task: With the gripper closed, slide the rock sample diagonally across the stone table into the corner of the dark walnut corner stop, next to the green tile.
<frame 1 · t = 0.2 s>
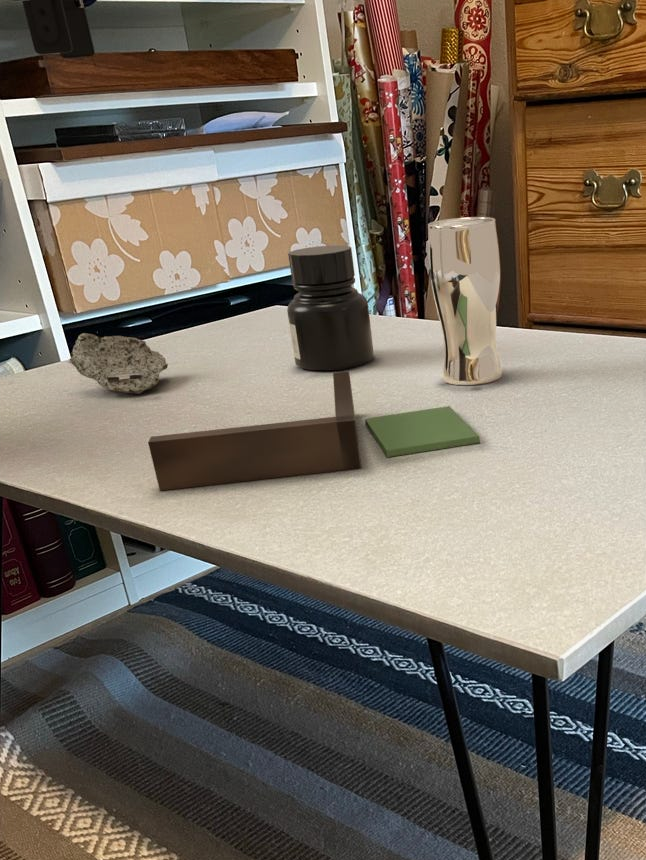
hand: (67, 55, 92), 31 cm above the table, tool pointing down, fingers open, 9 cm apart
beer glass: (472, 379, 102), on the table
ink bottle: (335, 364, 112), on the table
corner stop: (342, 464, 80), on the table
rock sample: (135, 389, 108), on the table
green tile: (420, 433, 86), on the table
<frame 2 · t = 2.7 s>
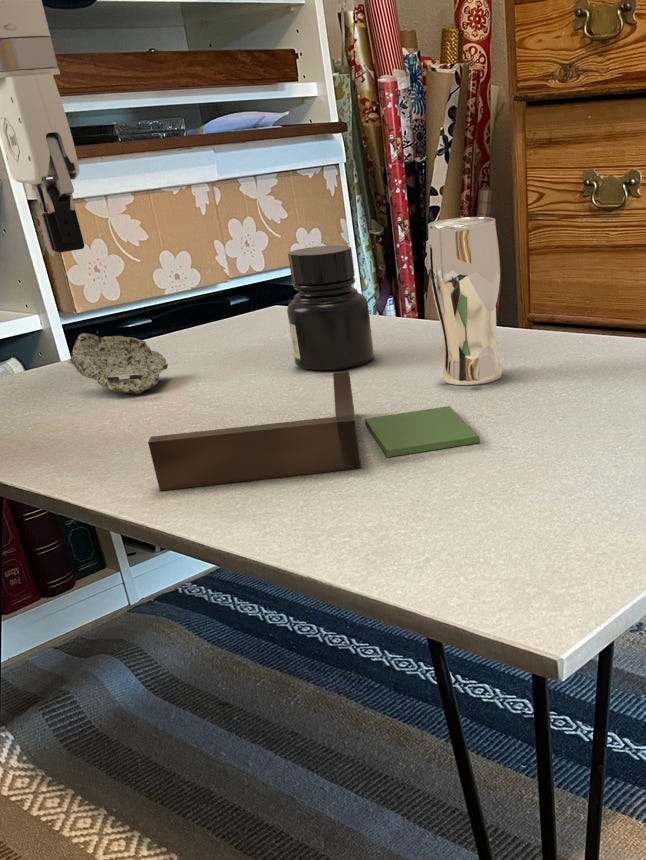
hand: (68, 249, 110), 13 cm above the table, tool pointing down, fingers closed
nothing on the table moved.
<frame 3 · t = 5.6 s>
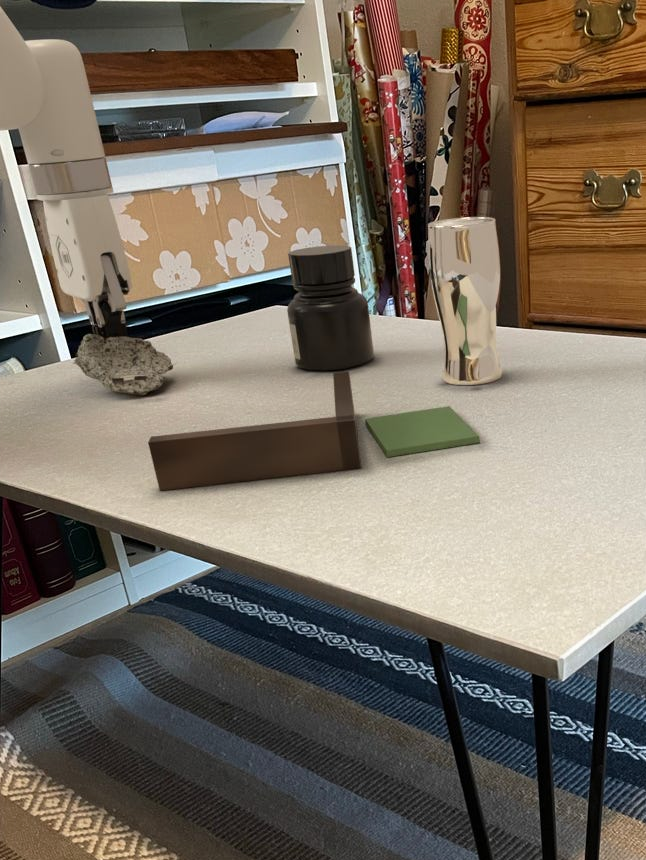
hand: (117, 360, 110), 2 cm above the table, tool pointing down, fingers closed
rock sample: (140, 390, 107), on the table, touching gripper
everything else where it was.
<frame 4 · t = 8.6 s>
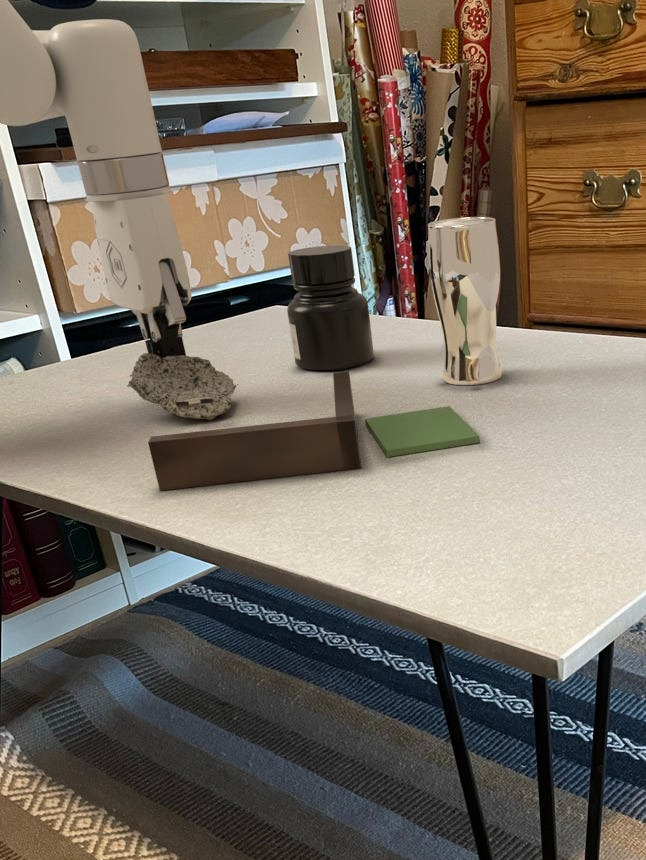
hand: (172, 377, 99), 3 cm above the table, tool pointing down, fingers closed
rock sample: (202, 414, 97), on the table, touching gripper
everything else where it was.
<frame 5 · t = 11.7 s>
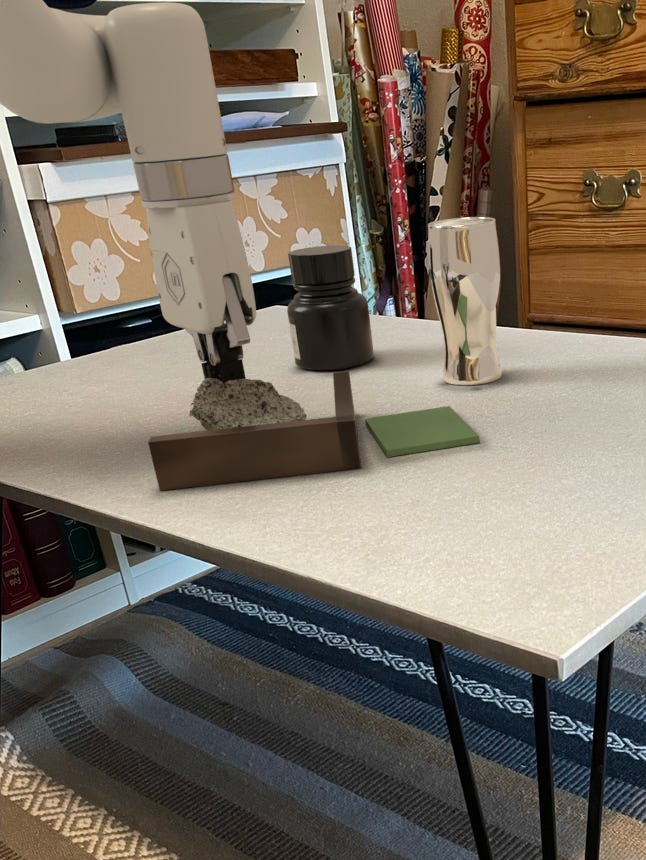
hand: (230, 404, 89), 3 cm above the table, tool pointing down, fingers closed
rock sample: (270, 442, 87), on the table, touching gripper
everything else where it was.
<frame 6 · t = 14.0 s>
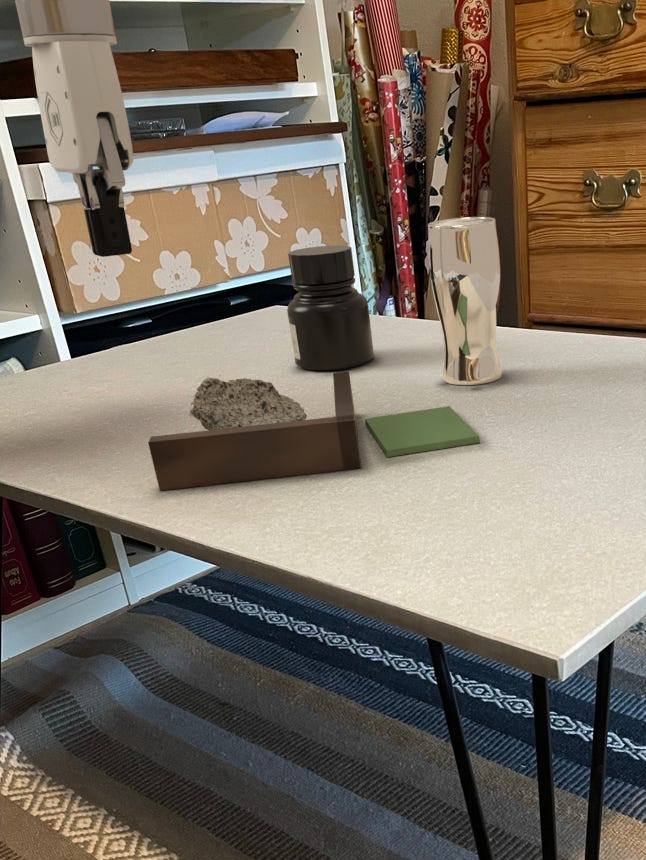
hand: (113, 254, 92), 15 cm above the table, tool pointing down, fingers closed
rock sample: (270, 442, 87), on the table
everything else where it was.
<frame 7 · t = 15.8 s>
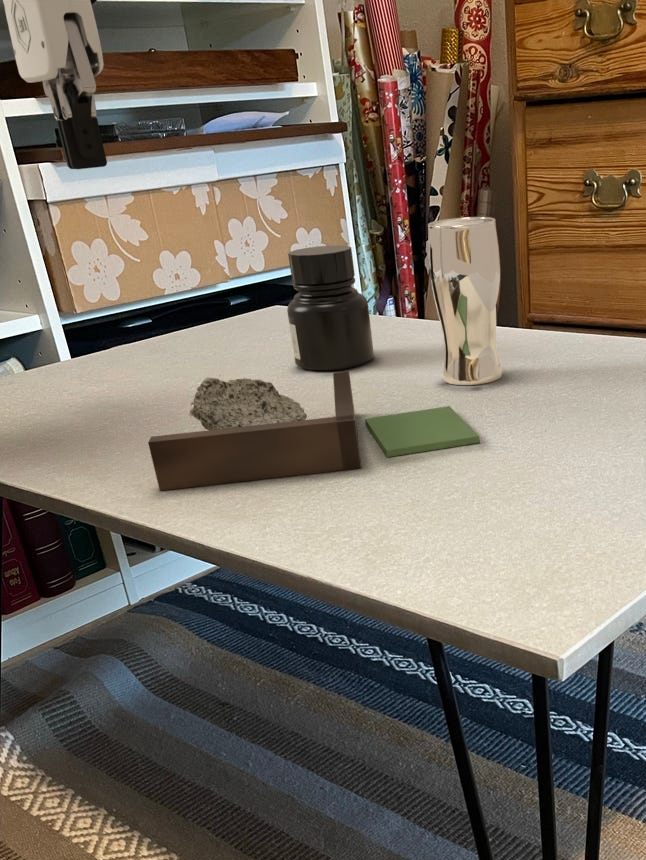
hand: (88, 167, 91), 22 cm above the table, tool pointing down, fingers closed
nothing on the table moved.
at the end: rock sample inside the target area on the corner stop (3.8 cm from its centre), point 0.0 cm above the corner stop's base; rock sample 10.8 cm from the corner stop (horizontally); rock sample moved 29.7 cm from its start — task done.
